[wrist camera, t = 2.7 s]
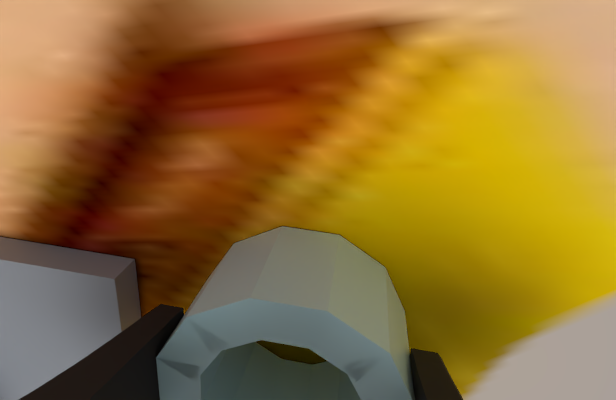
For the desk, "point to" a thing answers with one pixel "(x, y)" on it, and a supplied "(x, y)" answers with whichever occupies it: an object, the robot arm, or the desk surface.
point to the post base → (58, 309)
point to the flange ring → (291, 325)
